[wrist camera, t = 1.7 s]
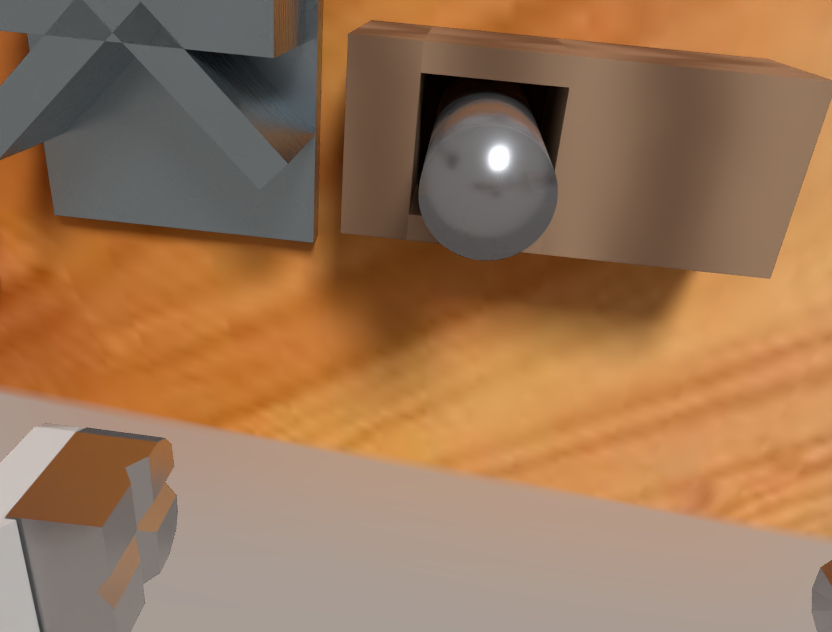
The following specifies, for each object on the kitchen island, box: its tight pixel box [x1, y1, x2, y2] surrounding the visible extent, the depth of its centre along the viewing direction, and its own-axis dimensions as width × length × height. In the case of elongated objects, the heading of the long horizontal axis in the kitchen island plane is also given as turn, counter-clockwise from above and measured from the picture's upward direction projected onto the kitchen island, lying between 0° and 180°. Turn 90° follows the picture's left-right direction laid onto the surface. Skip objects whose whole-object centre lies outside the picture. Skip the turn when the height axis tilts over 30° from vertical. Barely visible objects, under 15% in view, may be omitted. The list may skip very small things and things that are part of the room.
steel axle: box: [418, 77, 558, 261], centre depth 25 cm, size 4×4×11 cm
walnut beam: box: [340, 20, 832, 279], centre depth 28 cm, size 16×7×6 cm, turn 85°
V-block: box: [0, 0, 323, 243], centre depth 28 cm, size 12×12×6 cm
